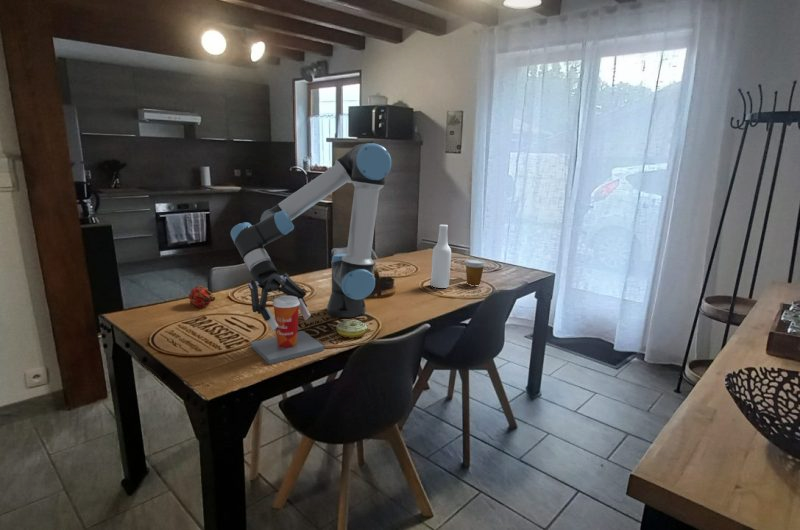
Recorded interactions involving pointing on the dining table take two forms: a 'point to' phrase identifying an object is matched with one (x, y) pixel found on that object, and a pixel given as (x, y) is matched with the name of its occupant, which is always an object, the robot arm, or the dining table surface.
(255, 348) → the slate board
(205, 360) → the dining table surface
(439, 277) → the alcohol
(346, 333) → the decorated donut
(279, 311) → the coffee cup
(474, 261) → the disposable coffee cup
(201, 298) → the dragon fruit
